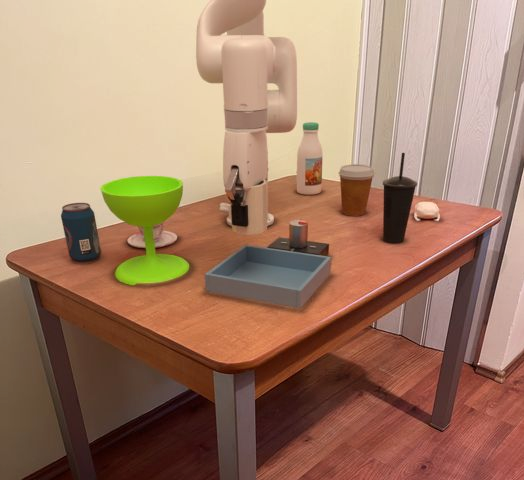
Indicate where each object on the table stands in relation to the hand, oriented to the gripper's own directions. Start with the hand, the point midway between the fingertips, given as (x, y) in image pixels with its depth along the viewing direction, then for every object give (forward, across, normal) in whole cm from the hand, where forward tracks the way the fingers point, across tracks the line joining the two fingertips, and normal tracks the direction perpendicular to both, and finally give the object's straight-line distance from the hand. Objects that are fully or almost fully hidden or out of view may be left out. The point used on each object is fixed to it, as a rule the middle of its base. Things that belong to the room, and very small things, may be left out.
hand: (249, 218), depth 103 cm
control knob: (+10, -15, +5) cm, 19 cm away
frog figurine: (+14, -55, +26) cm, 63 cm away
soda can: (+13, +4, -39) cm, 42 cm away
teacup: (+13, -12, -32) cm, 37 cm away
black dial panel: (+13, -15, +5) cm, 20 cm away
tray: (+13, +1, +5) cm, 14 cm away
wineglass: (+13, +4, -21) cm, 25 cm away
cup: (+2, 0, 0) cm, 2 cm away
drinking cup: (+13, -34, +22) cm, 43 cm away
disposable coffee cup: (+14, -52, +6) cm, 55 cm away
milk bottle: (+14, -68, -13) cm, 71 cm away
